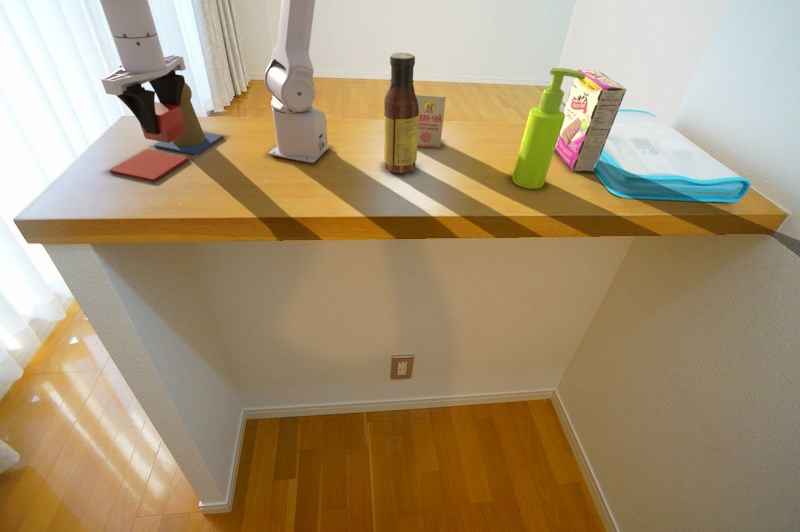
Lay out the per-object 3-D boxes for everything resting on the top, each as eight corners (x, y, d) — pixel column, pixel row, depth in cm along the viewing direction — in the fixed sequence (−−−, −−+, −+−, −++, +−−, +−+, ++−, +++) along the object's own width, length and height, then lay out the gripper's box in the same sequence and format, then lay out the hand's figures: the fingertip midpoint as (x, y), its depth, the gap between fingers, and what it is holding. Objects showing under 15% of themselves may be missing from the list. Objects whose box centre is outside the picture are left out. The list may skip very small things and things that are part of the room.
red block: (187, 132, 70) (179, 105, 67) (169, 143, 66) (160, 115, 63) (164, 128, 70) (155, 101, 68) (145, 138, 67) (135, 110, 64)
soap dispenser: (547, 193, 76) (586, 77, 63) (510, 184, 77) (539, 70, 64) (550, 179, 80) (586, 68, 67) (514, 171, 82) (543, 62, 69)
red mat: (188, 159, 77) (188, 157, 77) (154, 181, 70) (153, 179, 70) (147, 151, 79) (146, 149, 78) (109, 172, 72) (109, 169, 72)
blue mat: (223, 137, 85) (222, 135, 85) (195, 155, 79) (194, 153, 78) (185, 130, 87) (184, 128, 87) (154, 147, 80) (154, 145, 80)
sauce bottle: (420, 165, 81) (431, 54, 68) (407, 178, 77) (416, 63, 64) (390, 157, 83) (395, 48, 70) (376, 169, 79) (378, 56, 66)
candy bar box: (550, 148, 91) (575, 68, 81) (572, 148, 92) (599, 69, 81) (571, 172, 83) (602, 87, 72) (595, 172, 83) (629, 88, 73)
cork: (194, 148, 80) (178, 89, 73) (166, 144, 81) (147, 85, 73) (211, 136, 85) (197, 79, 77) (184, 132, 85) (168, 75, 78)
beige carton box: (408, 138, 91) (412, 91, 84) (439, 140, 91) (445, 94, 84) (408, 145, 88) (411, 97, 81) (439, 148, 88) (445, 100, 81)
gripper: (147, 21, 65) (172, 109, 74) (67, 40, 54) (108, 140, 63) (186, 27, 64) (207, 115, 72) (113, 47, 53) (148, 147, 62)
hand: (164, 127), depth 68 cm, fingers closed on red block, 4 cm apart
